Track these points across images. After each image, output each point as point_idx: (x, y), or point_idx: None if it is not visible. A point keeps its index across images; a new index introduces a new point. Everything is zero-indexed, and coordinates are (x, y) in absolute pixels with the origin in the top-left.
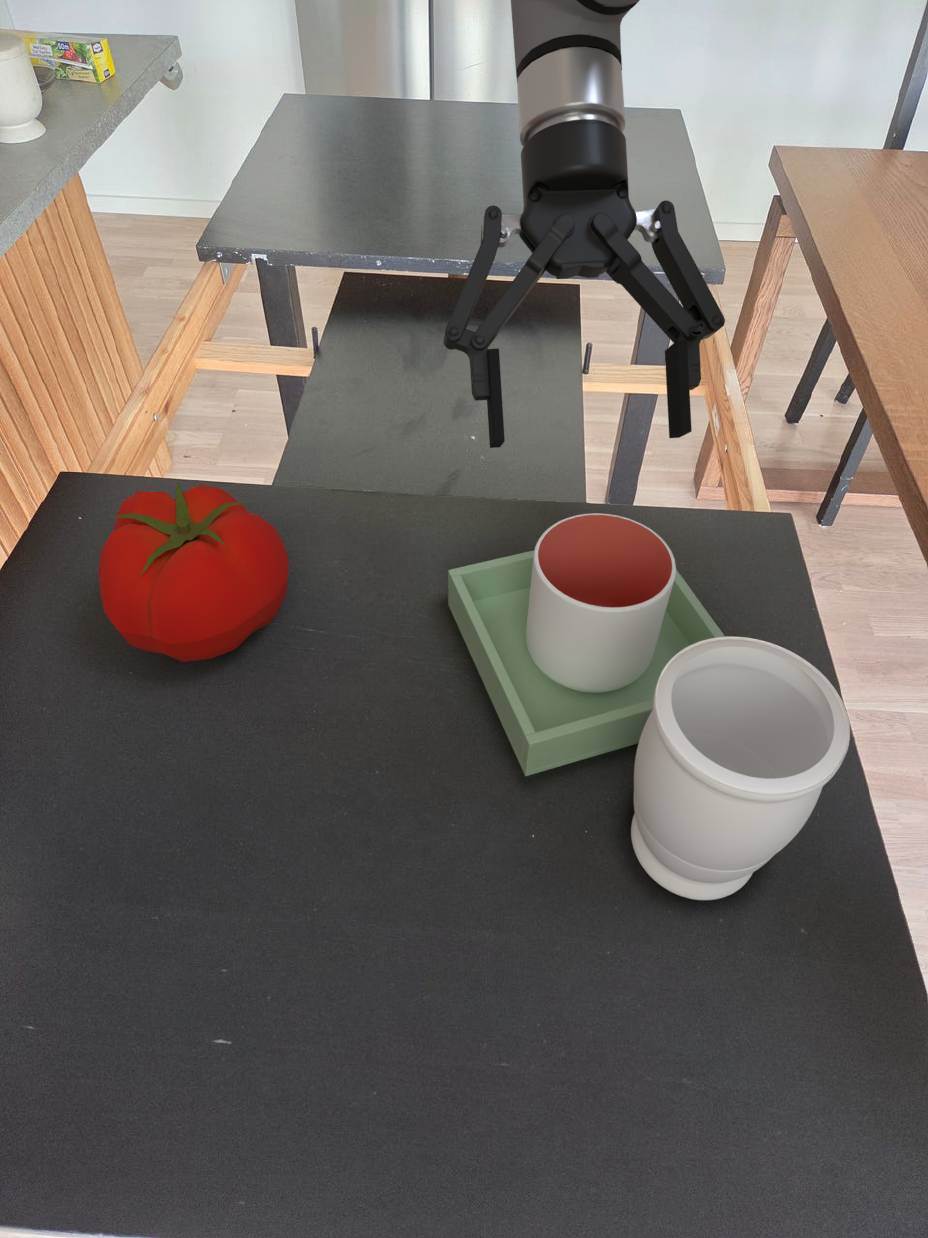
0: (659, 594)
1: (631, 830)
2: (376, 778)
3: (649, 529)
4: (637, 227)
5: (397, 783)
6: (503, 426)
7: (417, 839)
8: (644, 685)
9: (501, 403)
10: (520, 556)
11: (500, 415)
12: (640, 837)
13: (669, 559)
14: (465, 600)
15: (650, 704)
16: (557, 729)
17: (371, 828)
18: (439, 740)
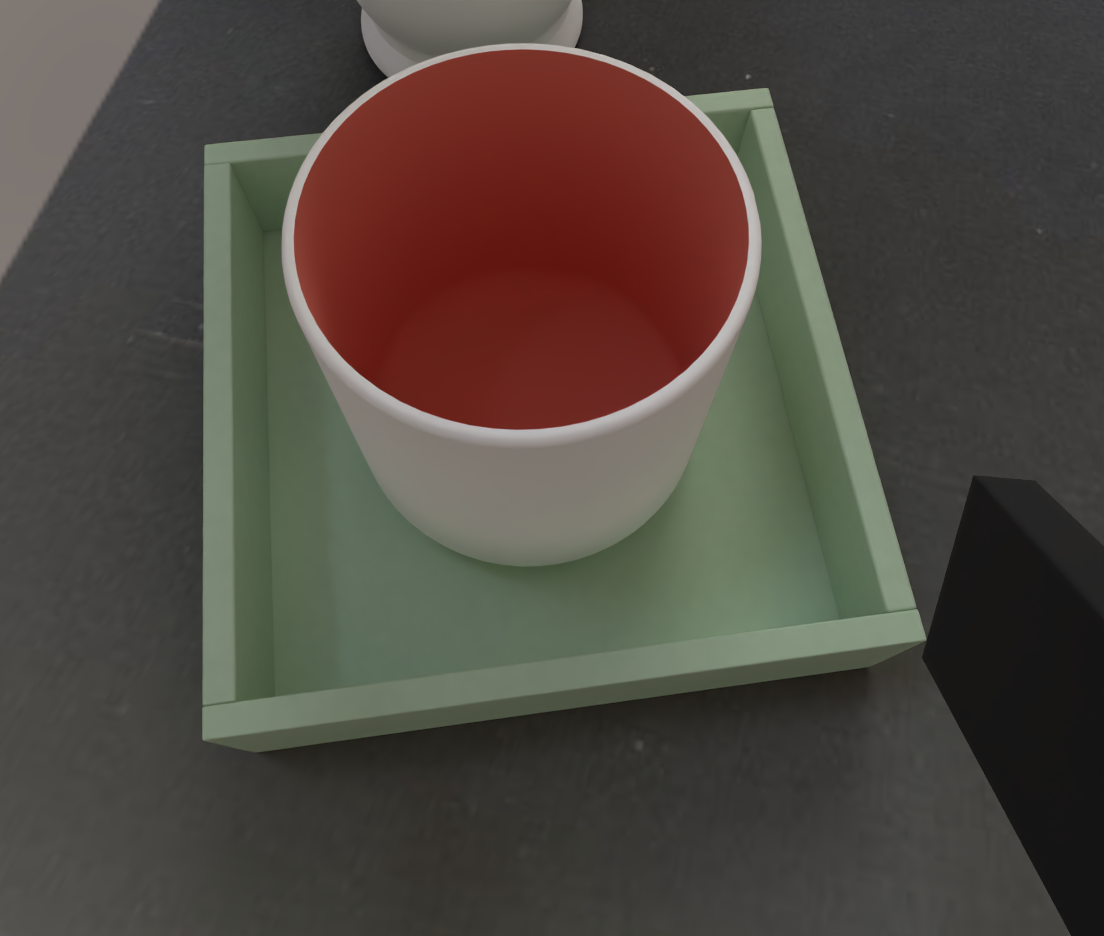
0: (406, 73)
1: (576, 40)
2: (1040, 218)
3: (309, 322)
4: None
5: (997, 202)
6: (1009, 514)
7: (956, 102)
8: None
9: (1081, 588)
10: (679, 660)
11: (1056, 545)
12: (572, 3)
13: (303, 205)
14: (879, 500)
15: None
16: (701, 106)
17: (1041, 132)
18: (910, 274)
